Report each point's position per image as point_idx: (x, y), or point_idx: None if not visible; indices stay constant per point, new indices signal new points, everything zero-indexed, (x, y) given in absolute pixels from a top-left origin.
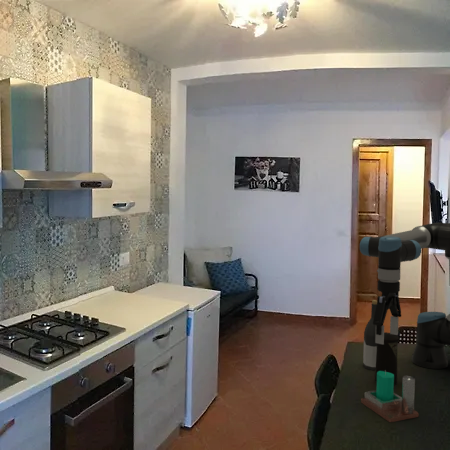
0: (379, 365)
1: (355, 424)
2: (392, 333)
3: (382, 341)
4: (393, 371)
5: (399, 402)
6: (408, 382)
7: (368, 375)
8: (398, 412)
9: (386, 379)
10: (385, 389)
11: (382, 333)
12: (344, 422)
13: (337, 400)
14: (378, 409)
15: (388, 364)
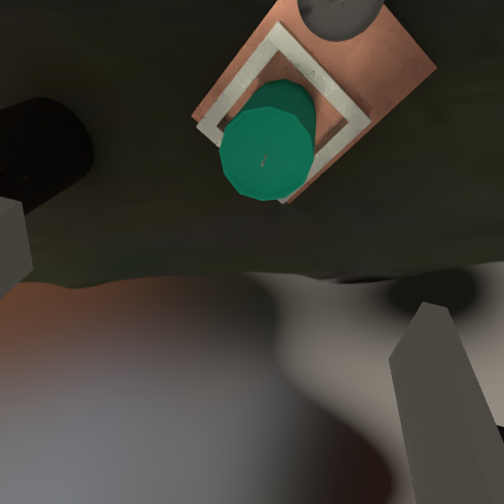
0: (46, 193)
1: (486, 187)
2: (24, 251)
3: (452, 335)
4: (29, 125)
5: (303, 47)
6: None
7: (47, 207)
8: (363, 39)
9: (312, 140)
10: (313, 128)
11: (488, 428)
12: (479, 223)
13: (310, 266)
14: (365, 128)
15: (26, 158)
